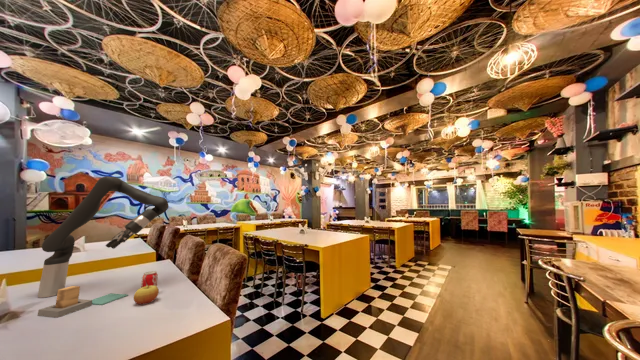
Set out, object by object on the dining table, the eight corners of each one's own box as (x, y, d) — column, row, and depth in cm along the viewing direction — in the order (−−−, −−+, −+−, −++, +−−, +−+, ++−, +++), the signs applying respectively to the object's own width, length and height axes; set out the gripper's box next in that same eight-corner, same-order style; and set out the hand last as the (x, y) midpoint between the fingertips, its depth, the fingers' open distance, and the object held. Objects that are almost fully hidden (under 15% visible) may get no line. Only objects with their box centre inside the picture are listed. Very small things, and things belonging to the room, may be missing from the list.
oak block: (54, 312, 96) (58, 289, 98) (69, 307, 101) (72, 286, 103) (62, 313, 96) (66, 290, 97) (76, 308, 100) (80, 286, 102)
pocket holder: (37, 315, 94) (38, 309, 94) (73, 304, 105) (73, 298, 106) (57, 317, 91) (58, 311, 92) (91, 305, 103) (92, 300, 104)
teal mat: (83, 303, 105) (83, 302, 105) (110, 294, 117) (110, 293, 117) (102, 305, 103) (102, 303, 103) (128, 295, 115) (128, 294, 115)
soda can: (149, 297, 111) (151, 274, 113) (136, 298, 112) (138, 274, 113) (159, 292, 118) (161, 270, 120) (147, 292, 118) (149, 270, 120)
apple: (152, 305, 102) (153, 288, 104) (128, 308, 100) (130, 290, 101) (161, 297, 112) (162, 281, 113) (139, 299, 109) (141, 283, 110)
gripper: (128, 220, 127) (99, 242, 115) (137, 220, 119) (107, 243, 108) (138, 228, 130) (111, 250, 119) (147, 228, 123) (119, 252, 112)
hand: (109, 247), depth 114 cm, fingers open, 8 cm apart
